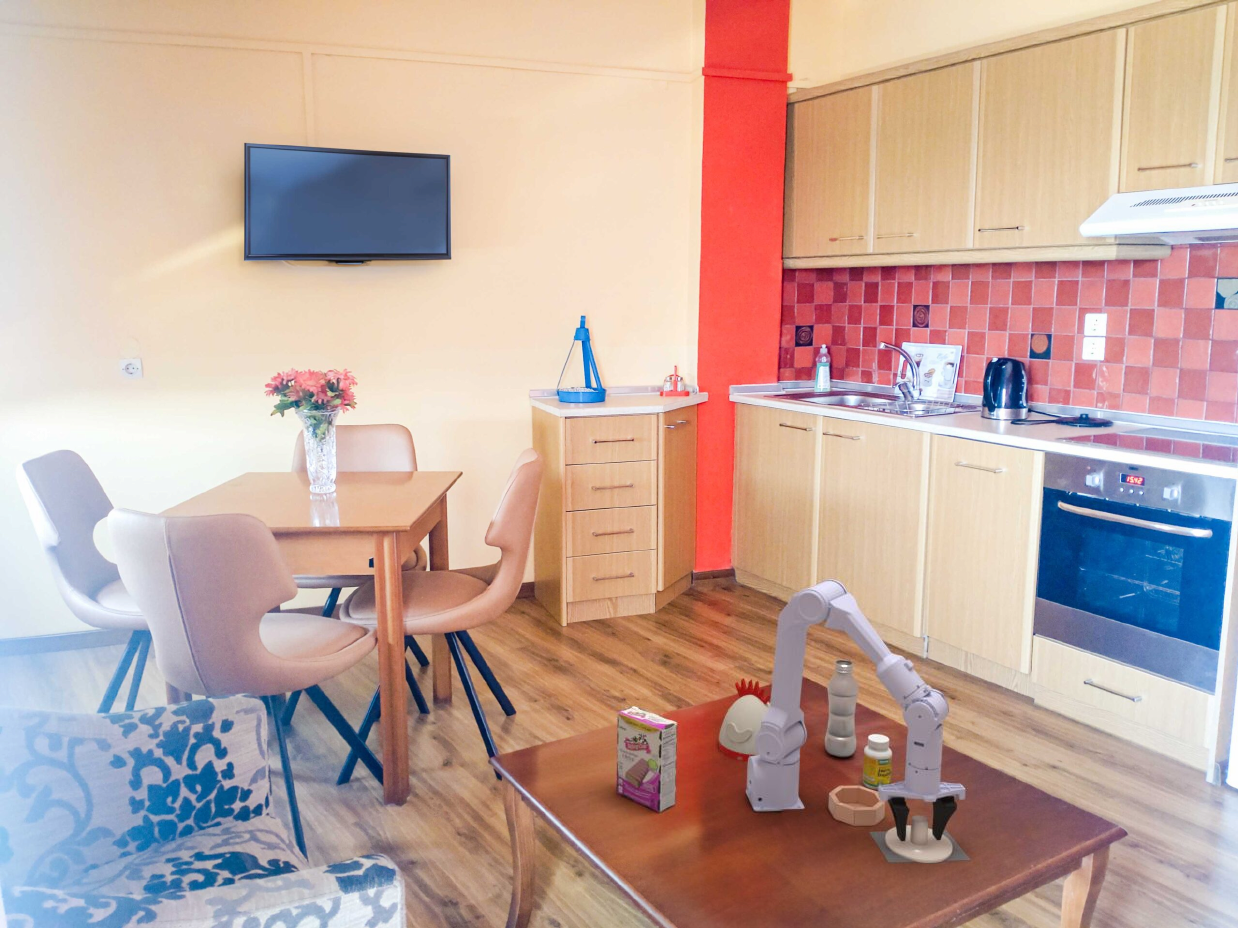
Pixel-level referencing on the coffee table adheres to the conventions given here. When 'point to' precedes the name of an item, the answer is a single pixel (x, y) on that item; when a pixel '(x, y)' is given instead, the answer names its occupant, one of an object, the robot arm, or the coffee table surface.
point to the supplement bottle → (877, 762)
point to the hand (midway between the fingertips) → (918, 837)
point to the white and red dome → (743, 722)
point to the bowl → (856, 805)
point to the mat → (893, 858)
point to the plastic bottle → (841, 710)
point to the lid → (919, 843)
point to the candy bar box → (646, 758)
